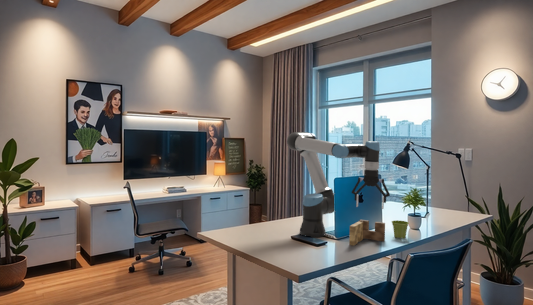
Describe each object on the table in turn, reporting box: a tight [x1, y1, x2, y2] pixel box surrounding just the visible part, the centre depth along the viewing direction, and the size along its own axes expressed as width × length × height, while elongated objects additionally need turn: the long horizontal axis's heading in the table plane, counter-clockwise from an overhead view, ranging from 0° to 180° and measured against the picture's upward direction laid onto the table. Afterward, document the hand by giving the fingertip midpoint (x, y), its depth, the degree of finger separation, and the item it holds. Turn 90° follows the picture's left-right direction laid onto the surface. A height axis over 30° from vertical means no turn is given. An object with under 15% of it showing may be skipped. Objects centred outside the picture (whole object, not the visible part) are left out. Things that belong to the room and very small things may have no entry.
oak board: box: [348, 220, 364, 246], centre depth 194 cm, size 14×3×10 cm, turn 146°
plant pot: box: [391, 220, 410, 239], centre depth 205 cm, size 9×9×9 cm
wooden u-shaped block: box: [358, 219, 386, 242], centre depth 200 cm, size 14×2×10 cm, turn 56°
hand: (369, 207), depth 197 cm, fingers open, 13 cm apart
